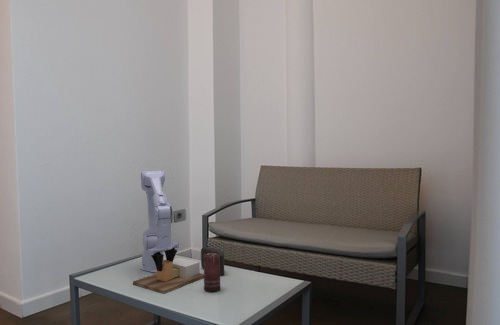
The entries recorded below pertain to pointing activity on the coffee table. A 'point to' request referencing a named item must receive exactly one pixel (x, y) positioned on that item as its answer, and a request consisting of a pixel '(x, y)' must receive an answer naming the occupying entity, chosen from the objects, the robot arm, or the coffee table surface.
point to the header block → (186, 267)
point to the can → (211, 271)
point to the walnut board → (166, 283)
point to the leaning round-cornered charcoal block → (206, 249)
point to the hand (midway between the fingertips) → (164, 269)
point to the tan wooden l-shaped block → (167, 271)
